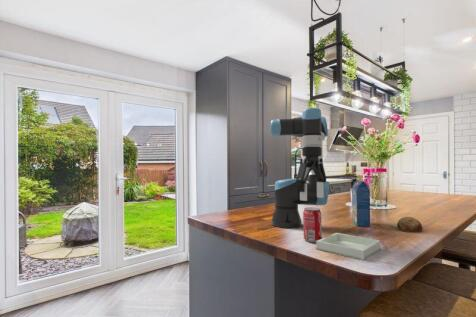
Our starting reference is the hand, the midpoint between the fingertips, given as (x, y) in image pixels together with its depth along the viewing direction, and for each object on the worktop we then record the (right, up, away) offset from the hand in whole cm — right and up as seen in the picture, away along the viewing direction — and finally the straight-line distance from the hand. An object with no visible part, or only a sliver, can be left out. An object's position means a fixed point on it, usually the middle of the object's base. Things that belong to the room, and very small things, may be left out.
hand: (312, 199), depth 112 cm
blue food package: (+33, -18, +30) cm, 48 cm away
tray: (+10, -17, -11) cm, 22 cm away
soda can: (0, -17, 0) cm, 17 cm away
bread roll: (+50, -17, +17) cm, 56 cm away
